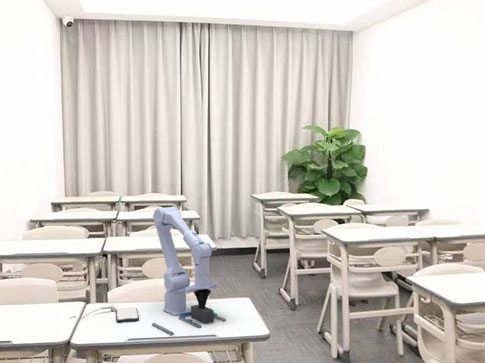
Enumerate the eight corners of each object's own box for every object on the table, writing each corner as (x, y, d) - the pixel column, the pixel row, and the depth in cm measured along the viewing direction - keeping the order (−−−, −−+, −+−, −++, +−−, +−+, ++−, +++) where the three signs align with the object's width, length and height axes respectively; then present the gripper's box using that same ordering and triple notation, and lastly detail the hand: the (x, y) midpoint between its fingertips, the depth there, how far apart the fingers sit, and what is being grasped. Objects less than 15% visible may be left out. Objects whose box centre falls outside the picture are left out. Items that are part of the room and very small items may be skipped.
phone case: (115, 312, 209) (116, 324, 194) (115, 308, 209) (116, 320, 194) (137, 310, 211) (139, 322, 196) (137, 307, 211) (139, 318, 196)
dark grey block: (190, 318, 200) (190, 306, 200) (199, 316, 203) (199, 304, 203) (205, 324, 193) (205, 312, 192) (213, 322, 195) (213, 310, 195)
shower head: (69, 328, 198) (119, 315, 207) (69, 321, 196) (119, 308, 206) (67, 320, 202) (115, 308, 212) (66, 313, 201) (115, 301, 210)
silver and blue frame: (150, 324, 192) (150, 320, 192) (203, 311, 208) (203, 308, 208) (171, 335, 181) (171, 331, 180) (226, 320, 197) (226, 317, 196)
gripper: (192, 278, 189) (192, 314, 190) (222, 273, 198) (222, 306, 199) (182, 275, 194) (182, 309, 195) (212, 270, 204) (212, 302, 204)
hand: (202, 307), depth 197 cm, fingers closed
